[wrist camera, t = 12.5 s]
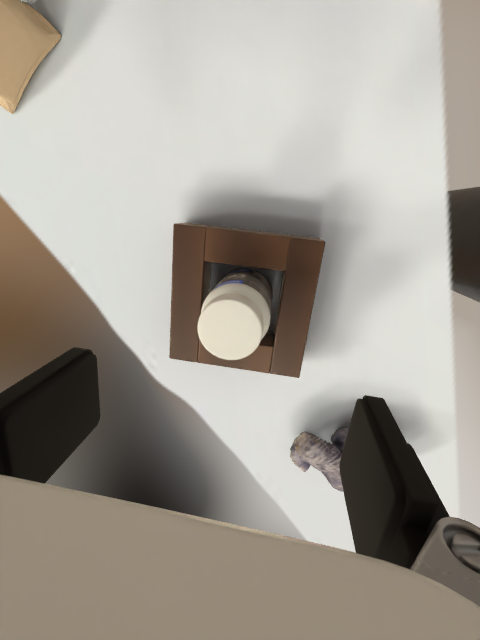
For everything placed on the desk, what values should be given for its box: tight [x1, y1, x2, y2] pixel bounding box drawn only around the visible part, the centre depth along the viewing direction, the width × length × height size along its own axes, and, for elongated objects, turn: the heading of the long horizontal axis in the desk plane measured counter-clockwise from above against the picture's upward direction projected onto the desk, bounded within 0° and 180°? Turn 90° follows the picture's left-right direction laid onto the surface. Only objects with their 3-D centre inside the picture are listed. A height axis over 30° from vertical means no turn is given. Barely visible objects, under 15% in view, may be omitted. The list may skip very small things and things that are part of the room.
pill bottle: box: [197, 269, 272, 360], centre depth 22 cm, size 5×5×8 cm
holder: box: [170, 223, 325, 378], centre depth 25 cm, size 11×11×3 cm
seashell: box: [290, 427, 349, 491], centre depth 27 cm, size 5×5×10 cm
